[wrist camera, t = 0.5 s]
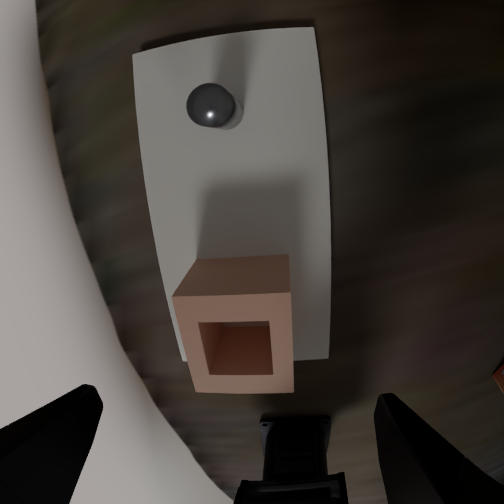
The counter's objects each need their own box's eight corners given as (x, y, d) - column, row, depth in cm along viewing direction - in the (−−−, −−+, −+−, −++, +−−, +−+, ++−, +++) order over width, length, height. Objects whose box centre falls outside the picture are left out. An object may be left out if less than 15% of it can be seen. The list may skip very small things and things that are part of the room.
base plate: (327, 350, 23) (328, 358, 22) (186, 353, 24) (182, 361, 23) (312, 32, 15) (313, 27, 14) (139, 57, 16) (132, 54, 15)
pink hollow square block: (292, 342, 21) (293, 392, 17) (211, 344, 22) (196, 392, 17) (288, 254, 19) (290, 292, 14) (196, 259, 20) (171, 296, 15)
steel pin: (245, 127, 17) (233, 123, 13) (210, 131, 17) (188, 129, 13) (241, 94, 16) (229, 79, 12) (207, 98, 16) (184, 86, 12)
